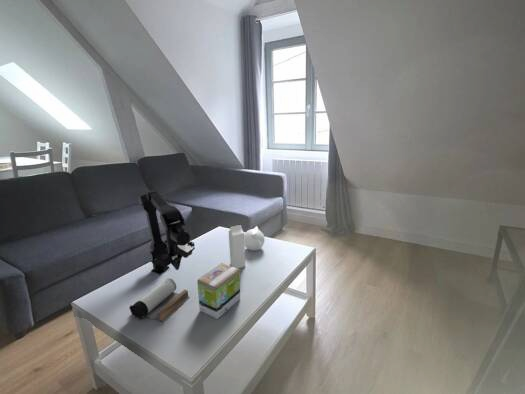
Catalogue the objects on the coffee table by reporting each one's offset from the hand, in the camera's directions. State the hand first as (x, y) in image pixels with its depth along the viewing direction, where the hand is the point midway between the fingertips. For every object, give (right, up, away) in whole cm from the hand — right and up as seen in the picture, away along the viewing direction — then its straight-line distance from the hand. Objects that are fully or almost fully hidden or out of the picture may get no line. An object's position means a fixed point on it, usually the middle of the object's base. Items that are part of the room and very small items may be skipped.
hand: (177, 269), depth 125 cm
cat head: (+32, +2, +38) cm, 50 cm away
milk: (+25, -3, +22) cm, 33 cm away
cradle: (-4, -13, -7) cm, 15 cm away
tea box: (+20, -13, -8) cm, 25 cm away
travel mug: (-3, -6, +1) cm, 7 cm away
